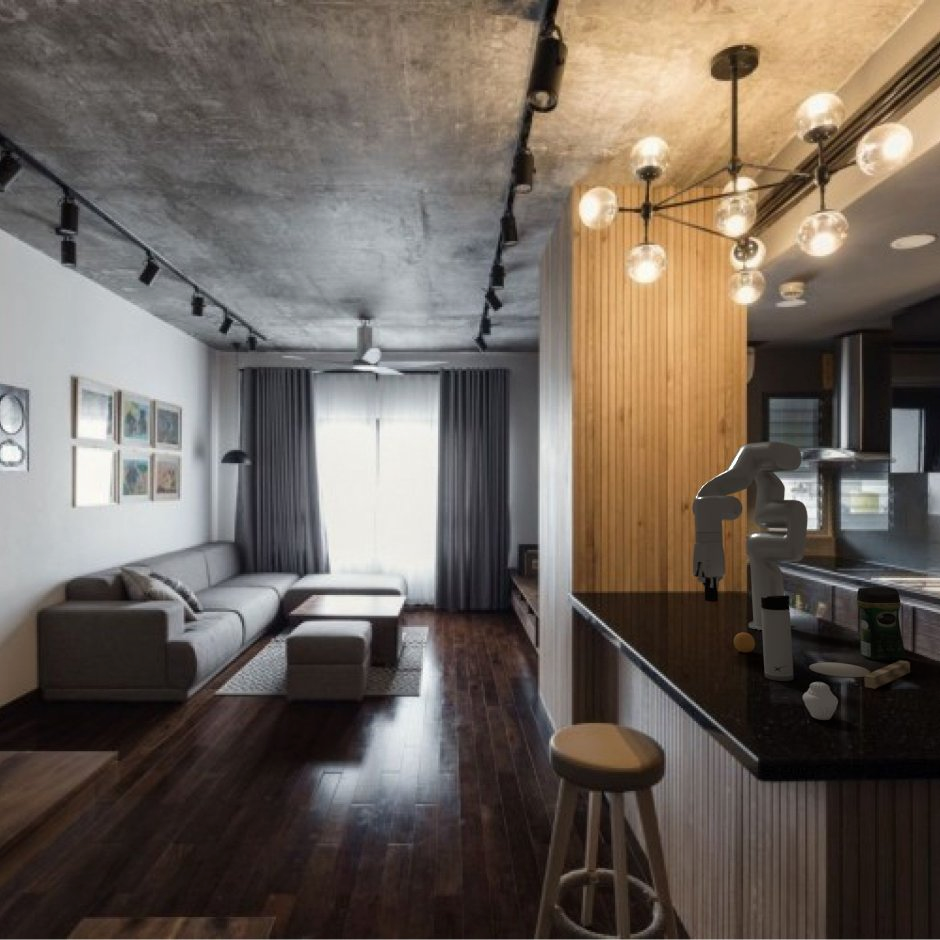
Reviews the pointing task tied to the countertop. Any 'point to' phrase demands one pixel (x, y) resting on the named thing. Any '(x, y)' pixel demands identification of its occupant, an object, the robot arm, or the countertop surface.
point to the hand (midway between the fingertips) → (711, 601)
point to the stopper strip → (887, 674)
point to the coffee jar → (880, 623)
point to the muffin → (820, 701)
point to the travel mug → (777, 638)
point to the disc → (839, 669)
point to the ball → (744, 642)
